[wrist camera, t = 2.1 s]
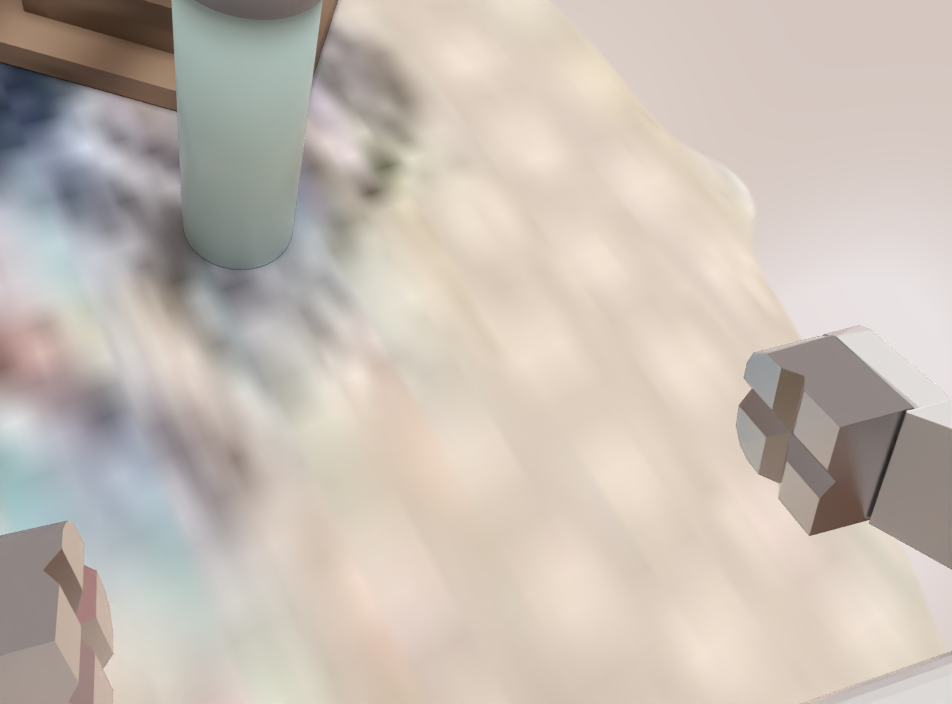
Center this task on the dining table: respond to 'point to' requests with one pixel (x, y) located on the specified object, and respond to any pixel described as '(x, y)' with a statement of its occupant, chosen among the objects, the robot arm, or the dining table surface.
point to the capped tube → (242, 122)
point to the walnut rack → (104, 43)
